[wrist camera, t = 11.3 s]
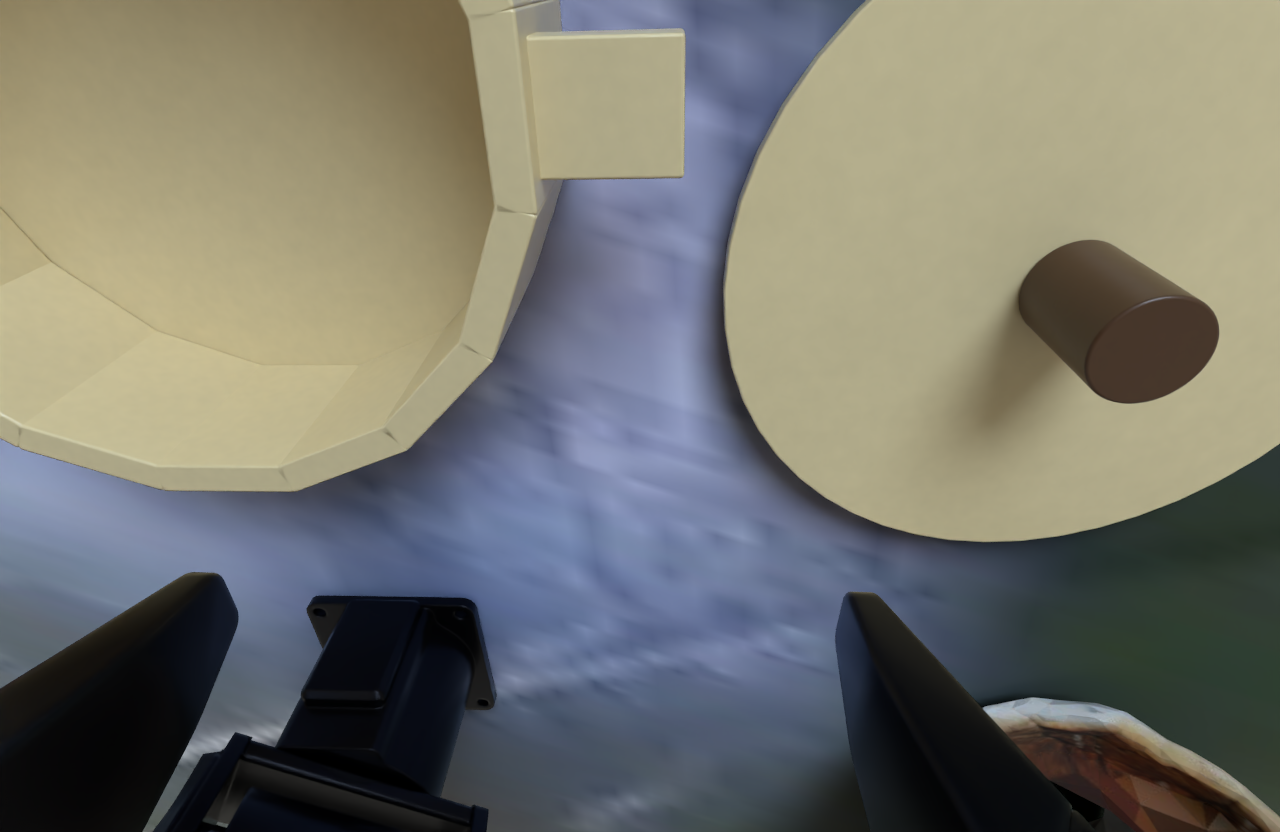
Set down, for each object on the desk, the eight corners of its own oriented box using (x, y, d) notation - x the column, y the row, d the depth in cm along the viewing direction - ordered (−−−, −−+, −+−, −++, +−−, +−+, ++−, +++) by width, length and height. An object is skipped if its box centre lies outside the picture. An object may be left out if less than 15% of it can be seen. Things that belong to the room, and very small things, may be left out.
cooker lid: (1243, 522, 23) (1359, 635, 19) (711, 517, 24) (718, 624, 20) (1666, -171, 13) (2082, -230, 9) (738, -136, 14) (763, -175, 10)
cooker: (679, 380, 21) (681, 496, 16) (-14, 380, 22) (-195, 488, 17) (686, -471, 12) (694, -756, 7) (-509, -398, 13) (-1167, -601, 8)
